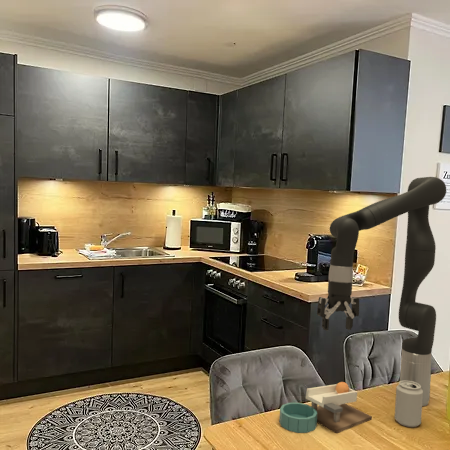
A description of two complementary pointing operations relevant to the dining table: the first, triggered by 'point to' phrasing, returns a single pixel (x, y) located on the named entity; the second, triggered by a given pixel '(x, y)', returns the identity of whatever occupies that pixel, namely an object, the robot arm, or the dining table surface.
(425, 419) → the dining table surface
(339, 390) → the ball
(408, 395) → the can
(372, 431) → the dining table surface
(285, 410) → the teal round bowl
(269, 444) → the dining table surface
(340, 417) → the stand
